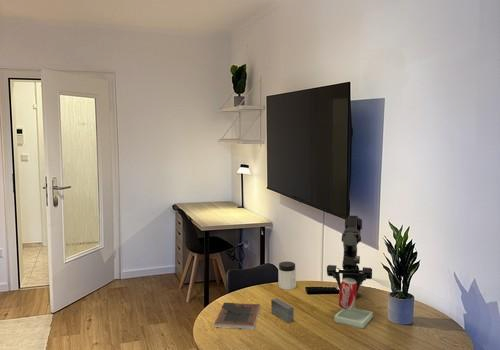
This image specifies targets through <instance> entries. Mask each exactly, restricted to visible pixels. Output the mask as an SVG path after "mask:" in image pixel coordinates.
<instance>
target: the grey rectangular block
mask: <svg viewBox="0 0 500 350" xmlns="http://www.w3.org/2000/svg"><path fill="white" fill-rule="evenodd" d="M270 300H271V303H270V304H271V305H270V306H271V309H270V310H271V314H273V315H274V316H276V317H278V318H279V319H281V320H283V321H284V322H286V323H291V322H294V318H295V317H294V313H295V312H294V309H295V308H294V306H292V305H290V304H288V303H286V302H285V301H283V300H281V299H279V298H277V297H276V298H272V299H270Z"/></svg>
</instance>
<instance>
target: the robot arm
mask: <svg viewBox="0 0 500 350" xmlns="http://www.w3.org/2000/svg"><path fill="white" fill-rule="evenodd" d="M362 230H363V220H362V219H361V218H360V217H359V216H358V215H347V217H346V218H345V219H344V230H343V233H342V235H341V242H342V246H343V257H342V265H341V266H342V268H338V267H337V265H334V264H328V265H327V266H326V276H328V277H332V278H333V279H335V281H336V282H337V287H338V290H339V291H340V284H341V282H342V281H343V278H352V279H354V280H356V283H357V296H356V300H357V299H358V298H359V297H360V296H361V293H358V292H359V290H360V288H361V286H362V285H363V283H364V281H366V280H372V279H373V268H372V267H365V266H364V267H362V269H360V267H359V265H360V264H361V262H360V261H361V257H360V256H361V255H358V245H359V243H361V242H362V235H361V234H362V233H361V231H362ZM340 274H342V275H340ZM341 276H342V281H341Z"/></svg>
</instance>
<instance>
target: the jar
mask: <svg viewBox="0 0 500 350" xmlns="http://www.w3.org/2000/svg"><path fill="white" fill-rule="evenodd" d="M277 271H278V277H277V278H278V280H277V281H278V282H277V283H278V288H279V289H281V290H286V291H291V290H293V289H296V288H297V269H296V263H295V262H292V261H280V262H279V263H278V269H277Z"/></svg>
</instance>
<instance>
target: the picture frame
mask: <svg viewBox="0 0 500 350" xmlns="http://www.w3.org/2000/svg"><path fill="white" fill-rule="evenodd" d="M260 310H261V304H259V303H239V302H235V303H234V302H224V303H223V304H222V307H221V309H220V311H219V313H218V316H217V317H216V319H215V321H214V323H213V327H214V326H220V327H230V328H241V329H240V330H249V329H250V330H252V331H254V330H255V327H256V325H257V320H258V317H259V312H260Z"/></svg>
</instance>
